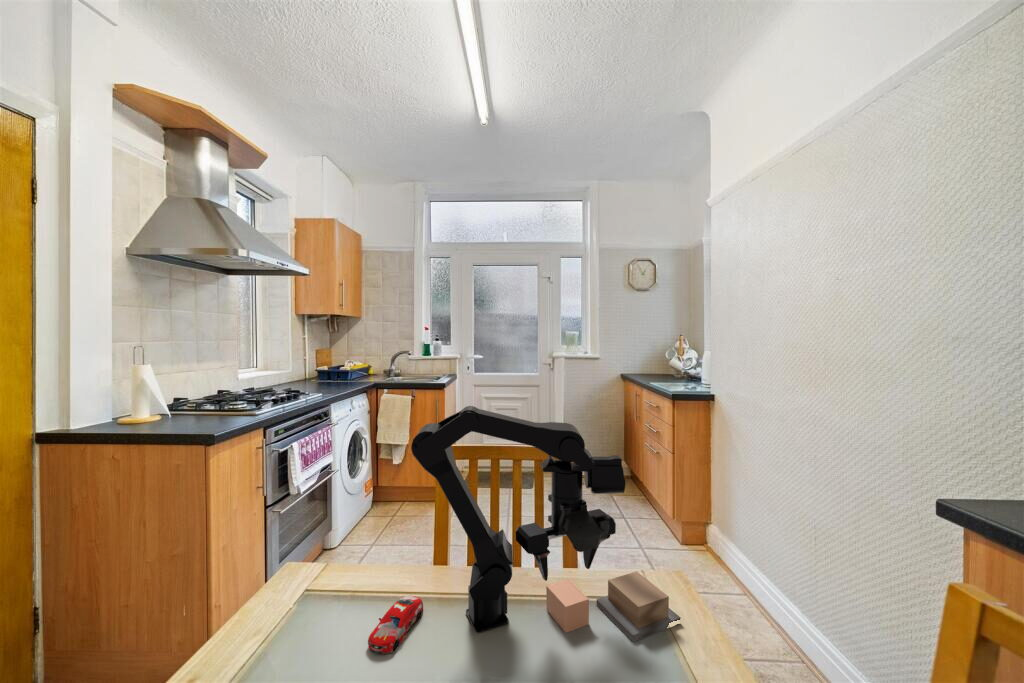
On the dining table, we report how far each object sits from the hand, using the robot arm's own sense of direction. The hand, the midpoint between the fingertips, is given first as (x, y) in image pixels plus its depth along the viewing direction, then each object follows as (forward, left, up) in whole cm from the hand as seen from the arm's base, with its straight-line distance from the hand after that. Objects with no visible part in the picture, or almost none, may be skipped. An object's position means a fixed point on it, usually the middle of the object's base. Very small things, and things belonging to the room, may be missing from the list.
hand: (566, 573), depth 86 cm
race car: (-30, +10, -9) cm, 33 cm away
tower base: (+13, -5, -9) cm, 16 cm away
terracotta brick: (0, 0, -9) cm, 9 cm away
